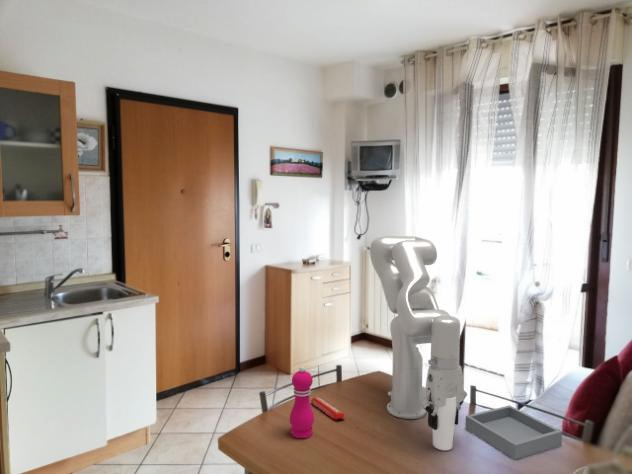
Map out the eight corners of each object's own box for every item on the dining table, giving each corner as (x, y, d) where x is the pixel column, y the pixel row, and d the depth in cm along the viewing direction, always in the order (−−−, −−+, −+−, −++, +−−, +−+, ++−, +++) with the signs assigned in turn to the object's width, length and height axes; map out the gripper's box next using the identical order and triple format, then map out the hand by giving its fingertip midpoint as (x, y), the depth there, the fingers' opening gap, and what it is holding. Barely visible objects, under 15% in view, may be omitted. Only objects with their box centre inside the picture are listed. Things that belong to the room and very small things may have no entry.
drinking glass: (456, 454, 118) (458, 399, 117) (430, 451, 119) (431, 397, 119) (453, 441, 125) (455, 389, 124) (429, 438, 126) (430, 387, 125)
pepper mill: (284, 433, 128) (284, 366, 127) (301, 425, 133) (302, 360, 132) (301, 442, 123) (302, 372, 122) (319, 433, 129) (320, 366, 127)
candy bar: (346, 421, 137) (346, 411, 137) (336, 424, 135) (336, 414, 135) (318, 402, 151) (318, 393, 150) (309, 404, 149) (309, 395, 148)
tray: (465, 428, 132) (465, 415, 132) (509, 417, 140) (509, 405, 139) (515, 460, 116) (515, 445, 116) (561, 445, 123) (562, 431, 123)
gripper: (428, 370, 114) (426, 438, 115) (478, 361, 121) (476, 425, 122) (410, 361, 121) (409, 425, 122) (459, 353, 128) (457, 413, 129)
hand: (443, 424), depth 122 cm, fingers closed on drinking glass, 6 cm apart
